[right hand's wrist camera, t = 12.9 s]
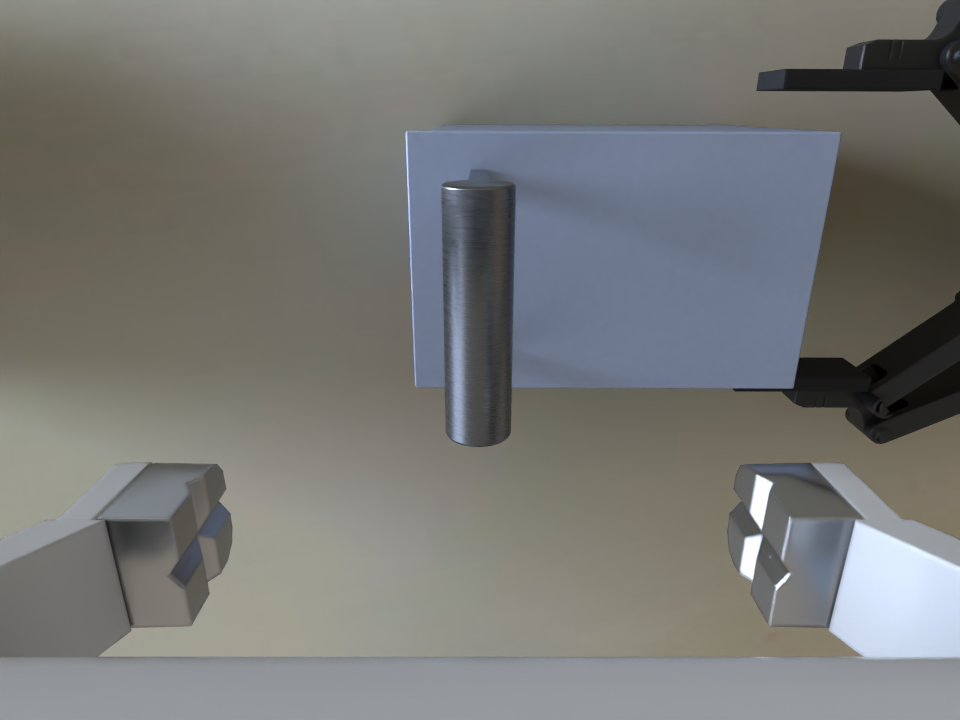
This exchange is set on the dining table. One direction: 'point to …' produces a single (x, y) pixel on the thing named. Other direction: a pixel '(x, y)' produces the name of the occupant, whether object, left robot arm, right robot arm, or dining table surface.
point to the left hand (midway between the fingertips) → (745, 238)
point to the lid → (609, 261)
